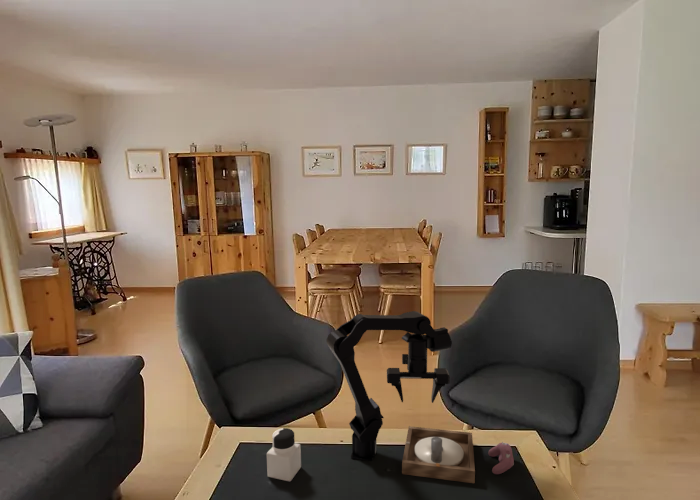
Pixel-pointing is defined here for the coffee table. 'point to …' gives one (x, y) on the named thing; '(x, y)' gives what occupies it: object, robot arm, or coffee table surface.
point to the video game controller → (502, 457)
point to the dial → (439, 451)
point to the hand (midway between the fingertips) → (417, 402)
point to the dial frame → (454, 473)
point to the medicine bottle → (283, 455)
